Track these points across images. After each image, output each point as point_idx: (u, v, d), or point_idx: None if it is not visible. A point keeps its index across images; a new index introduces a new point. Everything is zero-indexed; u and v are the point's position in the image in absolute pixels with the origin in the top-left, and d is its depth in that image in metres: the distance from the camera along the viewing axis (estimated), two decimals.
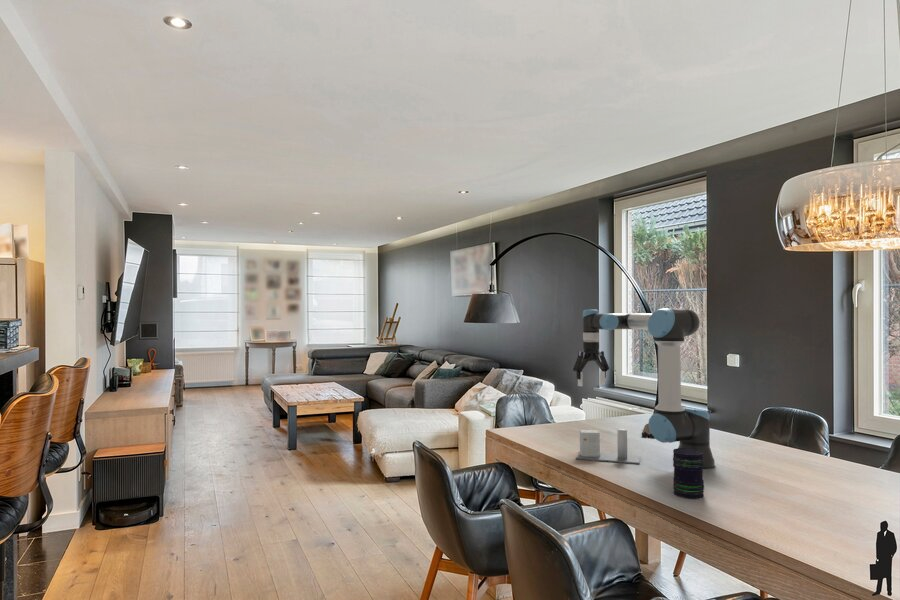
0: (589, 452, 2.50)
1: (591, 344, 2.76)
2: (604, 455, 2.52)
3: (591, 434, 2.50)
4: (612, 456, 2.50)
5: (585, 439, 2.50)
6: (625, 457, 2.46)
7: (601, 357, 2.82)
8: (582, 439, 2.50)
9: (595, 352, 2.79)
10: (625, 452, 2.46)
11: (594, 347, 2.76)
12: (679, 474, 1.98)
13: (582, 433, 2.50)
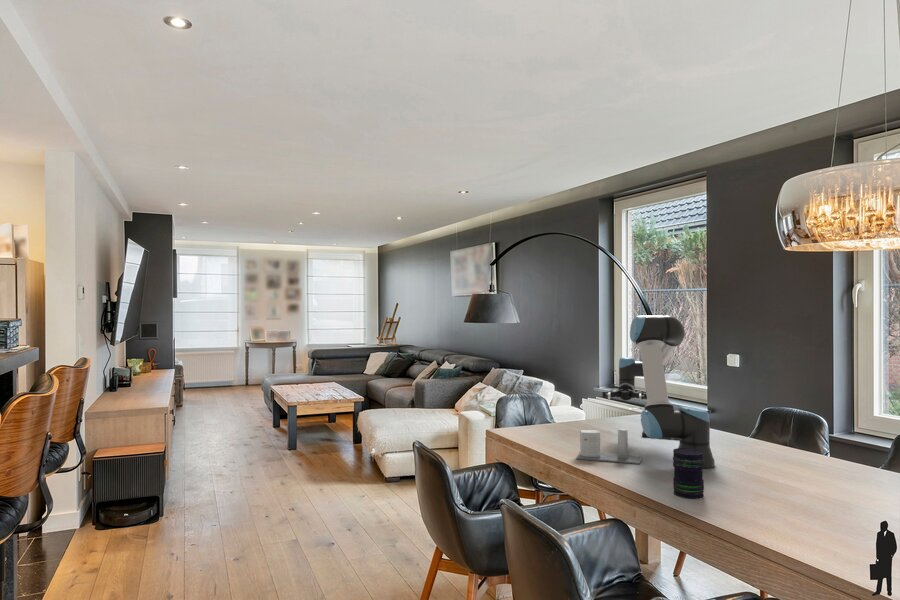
0: (589, 452, 2.50)
1: (620, 385, 2.80)
2: (604, 455, 2.52)
3: (591, 434, 2.50)
4: (612, 456, 2.50)
5: (586, 439, 2.50)
6: (625, 457, 2.46)
7: None
8: (582, 439, 2.50)
9: None
10: (625, 452, 2.46)
11: (623, 384, 2.78)
12: (679, 474, 1.98)
13: (582, 433, 2.50)
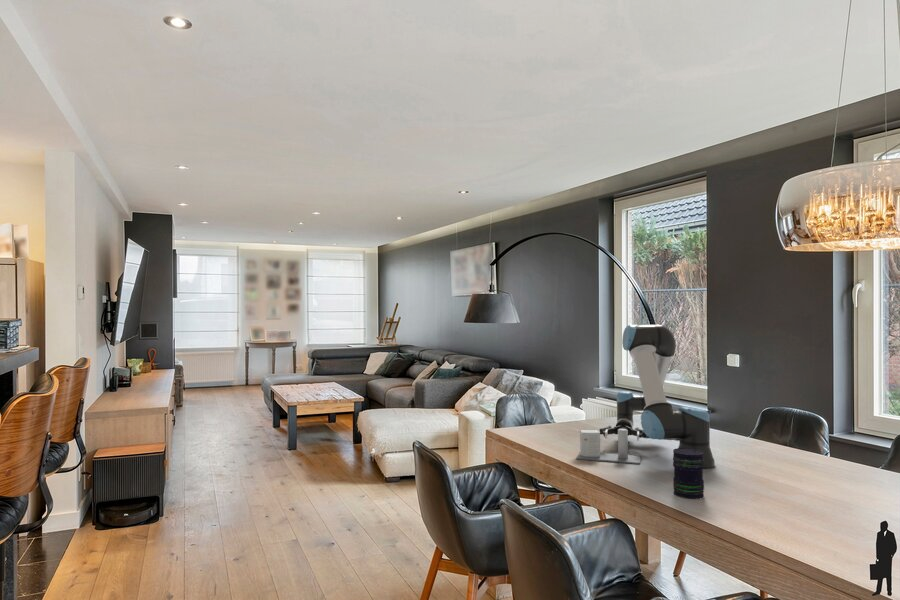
0: (589, 452, 2.50)
1: (618, 421, 2.75)
2: (604, 455, 2.52)
3: (591, 434, 2.50)
4: (612, 456, 2.50)
5: (586, 439, 2.50)
6: (625, 457, 2.46)
7: (637, 431, 2.65)
8: (582, 439, 2.50)
9: None
10: (625, 452, 2.46)
11: (621, 420, 2.73)
12: (679, 474, 1.98)
13: (582, 433, 2.50)
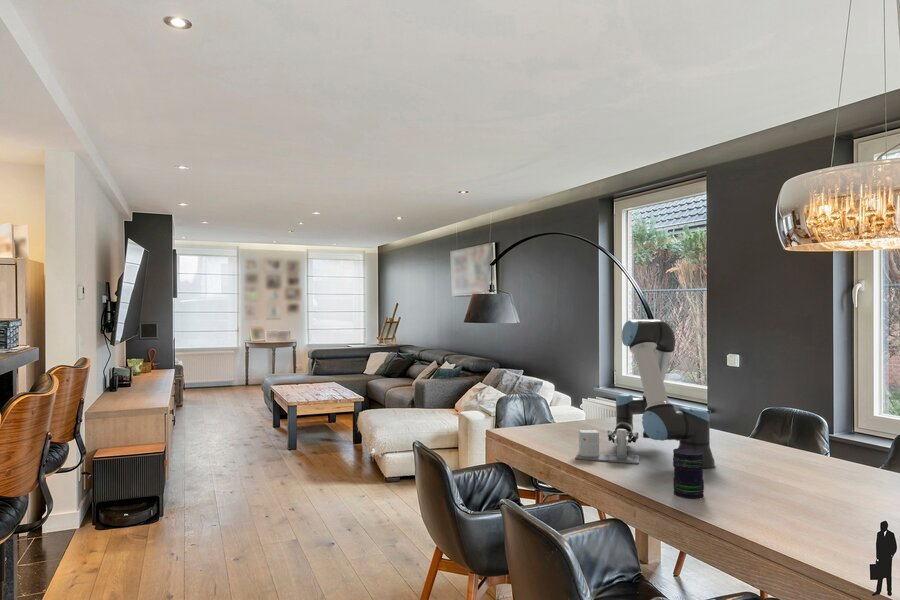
0: (588, 452, 2.50)
1: None
2: (603, 455, 2.52)
3: (590, 434, 2.50)
4: (611, 456, 2.50)
5: (585, 439, 2.50)
6: (624, 457, 2.46)
7: None
8: (581, 439, 2.50)
9: None
10: (624, 452, 2.46)
11: (621, 424, 2.63)
12: (679, 474, 1.98)
13: (581, 433, 2.50)
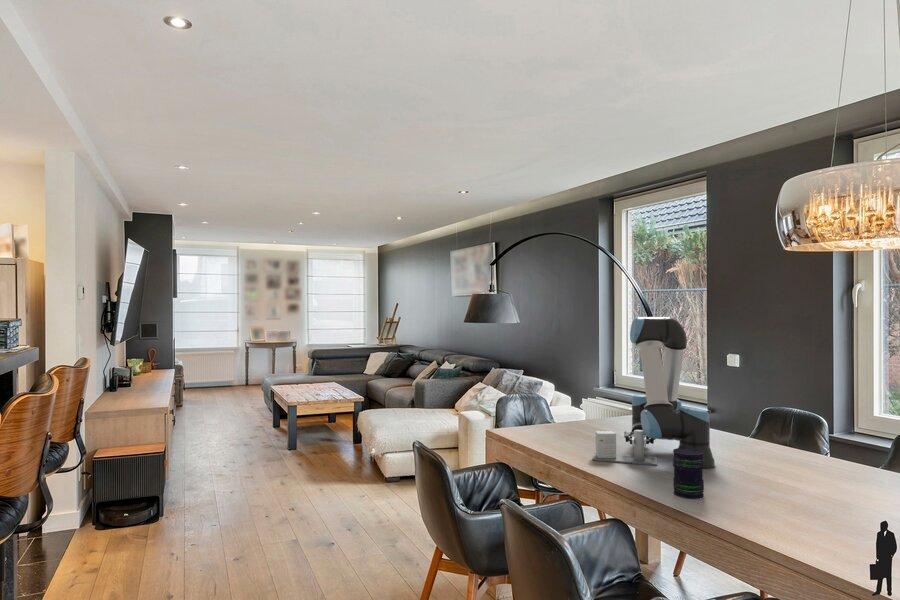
0: (605, 453, 2.47)
1: (634, 426, 2.62)
2: (620, 456, 2.50)
3: (607, 435, 2.47)
4: (629, 457, 2.48)
5: (602, 440, 2.48)
6: (642, 458, 2.44)
7: None
8: (598, 440, 2.48)
9: None
10: (642, 453, 2.44)
11: (637, 425, 2.60)
12: (679, 474, 1.98)
13: (598, 434, 2.48)
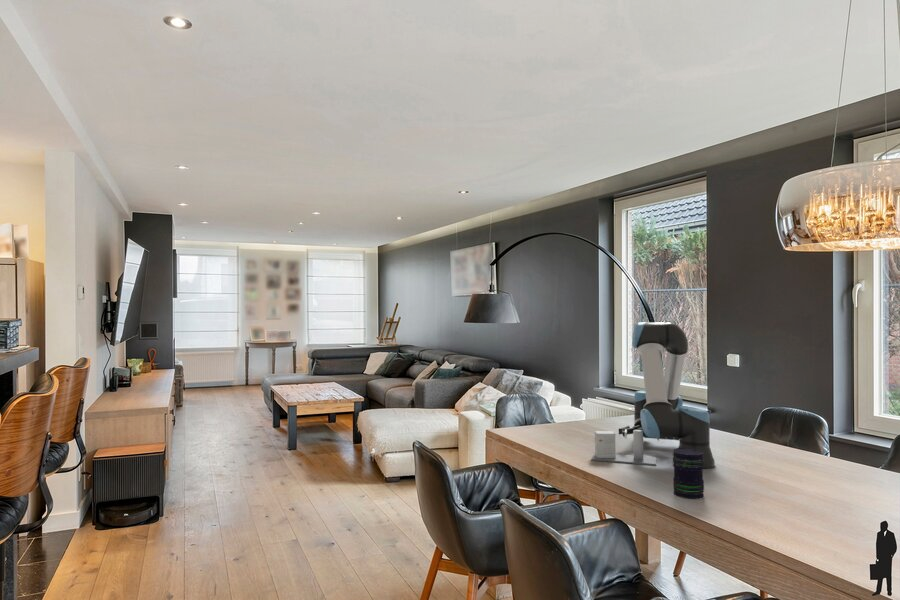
0: (604, 453, 2.47)
1: (636, 421, 2.74)
2: (620, 456, 2.50)
3: (607, 435, 2.48)
4: (628, 457, 2.48)
5: (601, 440, 2.48)
6: (641, 458, 2.44)
7: None
8: (597, 440, 2.48)
9: None
10: (641, 453, 2.44)
11: (639, 420, 2.72)
12: (679, 474, 1.98)
13: (597, 434, 2.48)
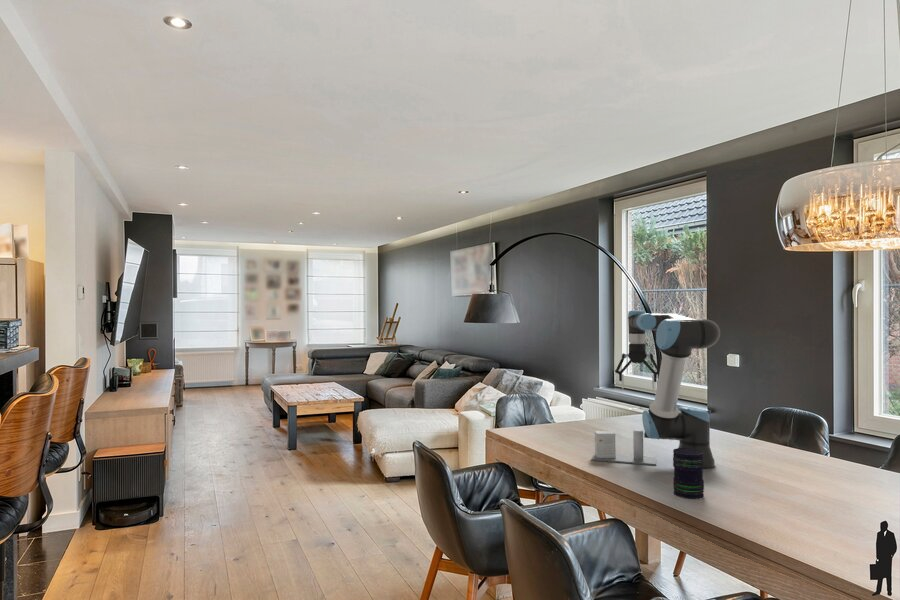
0: (604, 453, 2.47)
1: (631, 345, 2.69)
2: (620, 456, 2.50)
3: (607, 435, 2.48)
4: (628, 457, 2.48)
5: (601, 440, 2.48)
6: (641, 458, 2.44)
7: (651, 360, 2.69)
8: (597, 440, 2.48)
9: (641, 354, 2.69)
10: (641, 453, 2.44)
11: (634, 349, 2.68)
12: (679, 474, 1.98)
13: (597, 434, 2.48)
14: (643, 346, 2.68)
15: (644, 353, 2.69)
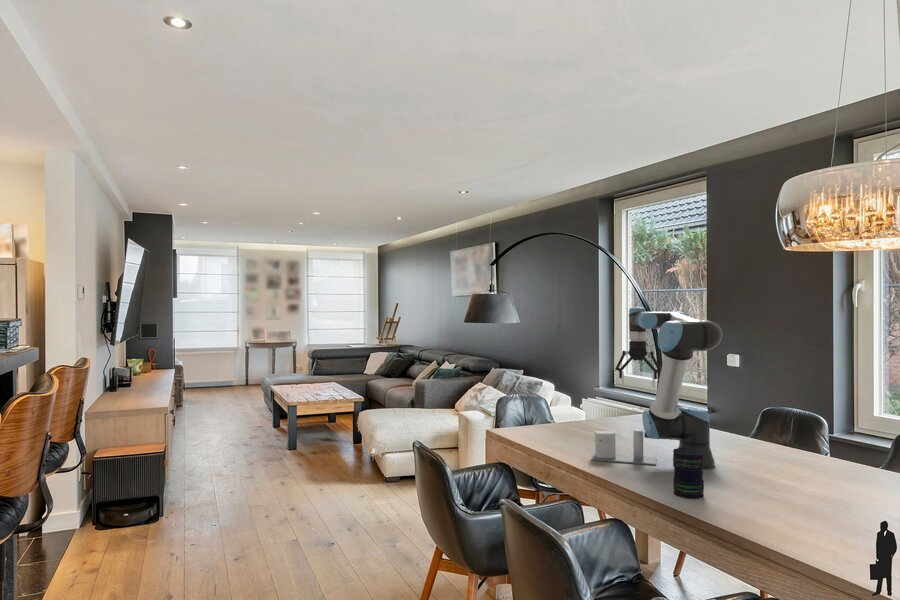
0: (604, 453, 2.47)
1: (632, 343, 2.68)
2: (620, 456, 2.50)
3: (607, 435, 2.48)
4: (628, 457, 2.48)
5: (601, 440, 2.48)
6: (641, 458, 2.44)
7: (651, 357, 2.68)
8: (597, 440, 2.48)
9: (641, 352, 2.68)
10: (641, 453, 2.44)
11: (635, 346, 2.67)
12: (679, 474, 1.98)
13: (597, 434, 2.48)
14: (644, 344, 2.67)
15: (644, 350, 2.68)
